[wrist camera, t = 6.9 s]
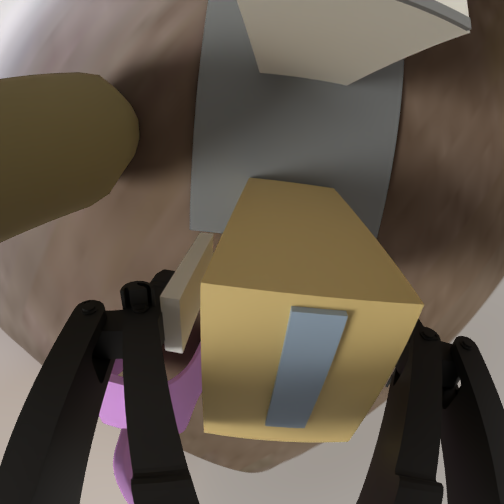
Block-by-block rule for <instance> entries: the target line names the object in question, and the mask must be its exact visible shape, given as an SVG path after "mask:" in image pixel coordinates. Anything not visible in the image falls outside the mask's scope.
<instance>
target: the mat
mask: <svg viewBox="0 0 504 504" xmlns="http://www.w3.org/2000/svg"><path fill="white" fill-rule="evenodd" d="M403 72H404V59H401V60H399V61H397V62H395V63H392V64H390V65H388V66H386V67H384V68H382V69H379V70H377V71H375V72H373V73H371V74H369V75H367V76H365V77H363V78H361V79H359V80H357V81H355V82H353V83H351V84H349V85H342V84H337V83H331V82H326V81H320V80H314V79H308V78H301V77H294V76H286V75H277V74H267V73H260V72H259V69H258V65H257V62H256V59H255V55H254V52H253V49H252V46H251V43H250V39H249V36H248V33H247V30H246V27H245V24H244V21H243V18H242V15H241V12H240V9H239V6H238V3H237V0H208V6H207V13H206V20H205V27H204V34H203V42H202V50H201V59H200V68H199V77H198V87H197V98H196V109H195V122H194V136H193V153H192V172H191V197H190V230H195V231H205V232H214V233H223V232H224V230H225V228H226V225H227V223H228V221H229V219H230V217H231V215H232V213H233V210H234V208H235V206H236V204H237V202H238V200H239V198H240V196H241V194H242V192H243V189H244V187H245V185H246V183H247V181H248V179H249V177H250V178H259V179H268V180H277V181H285V182H293V183H300V184H308V185H315V186H322V187H328V188H334V189H335V190H336V191H337V192H338V194H339V195H340V196H341V197H342V198H343V199H344V201H345V202H346V203H347V204H348V205H349V206H350V208H351V209H352V210H353V211H354V212H355V213H356V215H357V216H358V217H359V218H360V220H361V221H362V222H363V223H364V224H365V226H366V227H367V228H368V229H369V231H370V232H371V233H372V234H373V236H374V237H375V238H376V239H377V236H378V231H379V227H380V223H381V219H382V214H383V210H384V205H385V201H386V196H387V191H388V186H389V181H390V175H391V170H392V164H393V158H394V152H395V146H396V139H397V132H398V124H399V116H400V107H401V97H402V86H403Z"/></svg>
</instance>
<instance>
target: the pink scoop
mask: <svg viewBox="0 0 504 504" xmlns="http://www.w3.org/2000/svg"><path fill="white" fill-rule="evenodd" d="M122 371H123V359H116V360H115V363H114V366H113V369H112V372H111V375H110V379H109V382H108V385H107V389H106V392H105V395H104V399H103V402H102V406H101V409H100V413H99V417H100V418H101V420H102V422H103V423H104V424H107V425H111V426H114V427H117V428H121V432H120V436H119V439H118V442H117V445H116V448H115V453H114V460H113V468H114V475H115V478H116V481H117V484H118V486H119V488H120V491H121V493H122V494H123V496H124V498H125V499H126V501H127V503H128V504H134V502H133V496H132V491H131V478H132V477H133V472H132V465H131V458H130V450H129V443H128V434H127V424H126V413H125V399H124V382H123V377H121V376H118V374H119V373H120V372H122ZM168 386H169V391H170V396H171V401H172V406H173V410H174V415H175V419H176V424H177V428H178V432H179V433H182V432H183V431H184V430H185V429H186V427H187V425H188V423H189V420H190V418H191V415H192V412H193V409H194V407H195V404H196V402H197V400H198V398H199V396H200V394H201V393H202V374H201V341H200V343H199V346H198V348H197V350H196V352H195V354H194V356H193V357H192V359H191V361H190V362H189V364H188V365H187V366H186V367H185V369H184V370H183V371H181V372H180V373H179V374H178V375H177V376H175V377H174V378H173V379H171V380H169V381H168Z"/></svg>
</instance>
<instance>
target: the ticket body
mask: <svg viewBox="0 0 504 504" xmlns="http://www.w3.org/2000/svg"><path fill="white" fill-rule="evenodd" d="M237 3H238V6H239V9H240V12H241V15H242V18H243V21H244V24H245V27H246V30H247V33H248V36H249V39H250V43H251V46H252V49H253V52H254V55H255V59H256V62H257V65H258V69H259V72H260V73H267V74H277V75H286V76H294V77H301V78H308V79H314V80H320V81H326V82H331V83H337V84H342V85H349V84H351V83H353V82H355V81H357V80H359V79H361V78H363V77H365V76H367V75H369V74H371V73H373V72H375V71H377V70H379V69H382V68H384V67H386V66H388V65H390V64H392V63H395V62H397V61H399V60H401V59H404V58H406V57H408V56H411V55H413V54H415V53H418V52H420V51H422V50H425V49H427V48H430V47H432V46H435V45H438V44H440V43H443V42H445V41H448V40H451V39H454V38H456V37H459V36H462V35H465V34H468V33H470V30H471V19H470V18H469V15H468V5H467V0H237Z"/></svg>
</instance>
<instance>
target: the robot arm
mask: <svg viewBox="0 0 504 504" xmlns="http://www.w3.org/2000/svg"><path fill="white" fill-rule="evenodd" d="M213 238H214V234H210V233H201V232H200V234H199V235H198V237H197V238H196V240H195V241H194V243H193V244H192V246H191V248H190V249H189V251H188V252H187V254H186V255H185V257H184V259H183V260H182V262H181V263H180V265H179V266H178V268H177V270H176V271H171V270H162V271H160V272H159V273H157V274H156V275H155V276H154V278H153V279H152V281H151V282H150V283H148V282H144V281H134V282H130V283H127V284H125V285H124V286H123V287H122V288H121V290H120V293H121V300H122V306H123V310H115V311H105V307H104V305H103V303H101V302H100V301H96V300H88V301H84V302H82V303H80V304H78V305H77V306H76V307H75V309H74V311H73V312H72V314H71V316H70V317H69V319H68V321H67V322H66V324H65V326H64V327H63V329H62V331H61V333H60V334H59V336H58V338H57V340H56V341H55V343H54V345H53V347H52V349H51V351H50V352H49V354H48V356H47V358H46V360H45V362H44V364H43V366H42V368H41V370H40V372H39V374H38V376H37V378H36V380H35V382H34V384H33V386H32V388H31V390H30V393H29V395H28V397H27V399H26V401H25V403H24V406H23V408H22V410H21V412H20V415H19V417H18V420H17V422H16V424H15V427H14V430H13V432H12V434H11V437H10V440H9V442H8V445H7V448H6V451H5V454H4V456H3V460H2V462H1V466H0V504H80V498H81V492H82V486H83V481H84V476H85V471H86V467H87V462H88V457H89V453H90V449H91V444H92V440H93V436H94V432H95V428H96V424H97V420H98V417H99V413H100V409H101V406H102V402H103V399H104V395H105V392H106V389H107V385H108V382H109V379H110V375H111V372H112V369H113V366H114V363H115V360H116V359H123V382H124V399H125V413H126V424H127V434H128V443H129V450H130V458H131V465H132V472H133V477H132V478H131V491H132V496H133V502H134V504H199V501H198V498H197V495H196V492H195V489H194V485H193V482H192V479H191V476H190V473H189V470H188V466H187V463H186V460H185V456H184V452H183V448H182V444H181V440H180V436H179V432H178V428H177V424H176V419H175V415H174V410H173V406H172V401H171V396H170V391H169V386H168V381H167V376H166V370H165V364H164V359H163V352H162V345H163V343H165V350H166V351H171V352H177V353H182V354H183V351H184V349H185V346H186V343H187V341H188V338H189V335H190V333H191V330H192V327H193V325H194V322H195V320H196V317H197V314H198V312H199V309H200V285H201V280H202V278H203V276H204V274H205V271H206V269H207V267H208V265H209V263H210V260H211V258H212V256H213ZM395 367H396V368H395V370H394V372H393V374H392V375H391V377H390V379H389V381H388V382H387V384H386V387H388V386H389V384H390V388H389V393H388V398H387V403H386V407H385V412H384V416H383V420H382V424H381V428H380V432H379V436H378V440H377V444H376V447H375V450H374V454H373V458H372V461H371V464H370V467H369V470H368V473H367V476H366V479H365V482H364V485H363V488H362V491H361V493H360V496H359V499H358V501H357V503H356V504H442V498H443V485H442V484H441V483H438V482H436V472H437V464H438V456H439V447H440V438H441V444H442V451H443V459H444V467H445V476H446V485H447V498H448V499H447V500H448V504H504V409H503V406H502V403H501V401H500V398H499V395H498V393H497V390H496V388H495V385H494V383H493V380H492V378H491V375H490V373H489V371H488V369H487V366H486V364H485V362H484V360H483V357H482V355H481V353H480V351H479V349H478V347H477V345H476V344H475V342H473V341H472V340H471V339H469V338H468V337H464V336H458V337H456V339H455V340H454V342H453V344H450V343H446V342H442V341H440V337H439V335H438V334H437V333H436V332H435V331H434V330H432V329H430V328H428V327H423V325H422V323H421V322H420V320H419V318H418V320H417V322H416V324H415V327H414V329H413V331H412V333H411V335H410V337H409V340H408V342H407V344H406V346H405V348H404V350H403V352H402V354H401V356H400V358H399V360H398V361H397V363H396V365H395ZM459 380H461V387H460V388H458V385H457V383H458V382H459Z"/></svg>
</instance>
